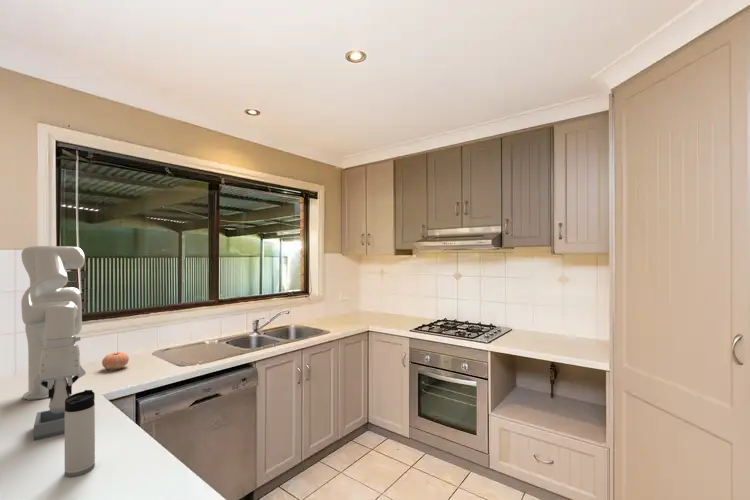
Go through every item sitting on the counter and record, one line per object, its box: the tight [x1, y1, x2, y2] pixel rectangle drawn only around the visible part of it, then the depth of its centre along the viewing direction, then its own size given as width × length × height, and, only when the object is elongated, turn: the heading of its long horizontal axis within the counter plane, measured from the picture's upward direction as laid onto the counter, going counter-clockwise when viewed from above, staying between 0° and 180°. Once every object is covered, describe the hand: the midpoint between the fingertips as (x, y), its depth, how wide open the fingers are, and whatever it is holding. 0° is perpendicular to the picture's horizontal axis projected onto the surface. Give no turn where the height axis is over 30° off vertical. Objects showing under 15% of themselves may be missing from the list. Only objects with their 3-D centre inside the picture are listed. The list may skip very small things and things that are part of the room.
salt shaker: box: [48, 375, 72, 414], centre depth 121 cm, size 6×6×13 cm
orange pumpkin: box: [101, 351, 130, 371], centre depth 181 cm, size 11×11×8 cm
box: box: [33, 409, 65, 441], centre depth 121 cm, size 12×12×4 cm
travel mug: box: [64, 389, 96, 478], centre depth 98 cm, size 6×7×20 cm
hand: (60, 398), depth 121 cm, fingers closed on salt shaker, 3 cm apart
